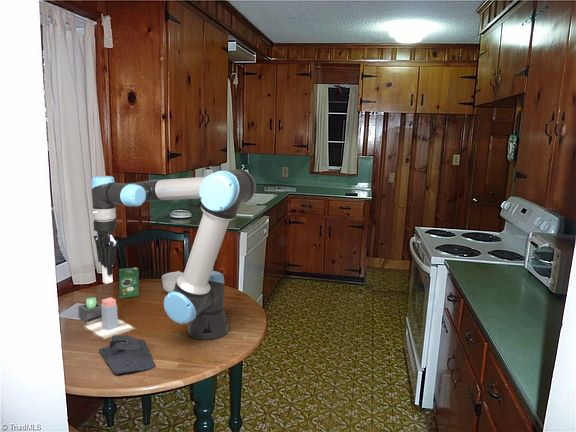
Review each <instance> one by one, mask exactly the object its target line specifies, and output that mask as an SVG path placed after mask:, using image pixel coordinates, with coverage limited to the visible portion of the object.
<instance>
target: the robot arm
mask: <svg viewBox="0 0 576 432" xmlns="http://www.w3.org/2000/svg"><path fill="white" fill-rule="evenodd" d="M90 182H91V187H90V190H91V200H92V201H91V202H92V212H91V214H92V218H93V222H92V223H93V231H94V232H97V234H96V235H94V236H93V239H94V242H95V248H96V249H95V250H96V255H97V261H98V262H99V263H100V264H101V270H102V271H101V273H102V283H103V284H105V285H106V284H110V283H113V282H114V279H113V276H114V275H113V266H115V265H116V264H117V263H116V262H117V252H118V251H117V249H118V244H119V241H118V240H117V239H116V240H115V238H114V237H115V236H114V235H115V234H114V231H116V230H117V220H116V218H117V212H116V211H117V209H116V205H119V206H127V207H130V208H132V207H140V206H142V205H143V204H144V203H146V202H152V201H166V200H167V201H168V200H169V201H171V200H172V201H173V200H191V199H192V200H196V199H197V200H198V199H200V202H201V204H200V209H201V211H202V212H203V214H202V217H201V219H200V222H199V225H198V229H197V230H196V231H197V232H196V235H195V238H194V241H193V244H192V246H191V251H190V253H189V257H188V259H187V262H186V265H185V268H184V271H183V273H184V274H183V275H181V276H179V277H178V278H177V280H176V283H175V287H174V290H173V291H172V292H170V293H168V292H167V293H168V294H167V295H165V297H164V300H163V308H164V312H165V313H166V315H167V317H168V318H169V319H170V320H171V321H172V322H174V323H176V324H180V325H184V324H188V325H187V333H188V335H189V336H190V337H191V338H193V339H196V340H204V341H205V340H215V339H220V338H222V337H224V336H225V335H227V334H228V332H229V330H230V329H229V328H230V327H229V326H230V324H229V321H228V319H227V315H226V313H225V277H224V274H223V273H221V272H219V271H215V270H214V266H215V262H216V260H217V258H218V255H219V251H220V249H221V247H222V244H223V240H224V237H225V235H226V232H227V229H228V226H229V223H230V221H232V220H235V219H236V218H237V216H238V215H237V214H238V212H239V209H240V206H241V205H243V204H246V203H247V202H250V201H251V200H252V199H253V197H254V195H255V194H256V187H257V185H256V181H255V178H254V176H253V175H252V174H251V173H250V172H248V171H247V170H245V169H238V168H237V169H236V168H235V169H229V170H218V171H216V172H215V171H214V172H213V173H211V174H208V175H207V176H200V177H199V176H198V177H196V176H195V177H185V178H184V177H183V178H168V179H167V178H166V179H150V180H145V181H143V180H142V181H139V182H138V181H137V182H130V183H120V182H115V177H113V175H111V176H110V175H97V176H93V177H92V178H91V181H90ZM212 269H213V271H212Z"/></svg>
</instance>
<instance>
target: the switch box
mask: <svg viewBox="0 0 576 432" xmlns="http://www.w3.org/2000/svg"><path fill="white" fill-rule="evenodd" d="M101 305H102V303H100V302H99V301H96V306H97V307H94V308H91V309H88V308H87V307H86V303H85V304H80V305H78V317H79V319H80V320H81V321H83V322H85V323H86V322H89V321H92V320H95V319H99V318H102V311H101Z"/></svg>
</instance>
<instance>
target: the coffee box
mask: <svg viewBox="0 0 576 432" xmlns="http://www.w3.org/2000/svg"><path fill="white" fill-rule="evenodd" d="M118 273H119V274H118V277H119V278H118V280H119V281H118V282H119V284H118V285H119V287H118V288H119V298H120V299H127V298H133V297H139V295H140V294H139V293H140V292H139V287H140V286H139V268H138V267H126V268H119V269H118Z"/></svg>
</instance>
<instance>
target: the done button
mask: <svg viewBox="0 0 576 432" xmlns="http://www.w3.org/2000/svg"><path fill="white" fill-rule="evenodd" d="M96 302H97V298H96V296H89V297H87V298H85V304H86V307H87V308H88V309H91V308H94V307H97V306H96Z"/></svg>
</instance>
